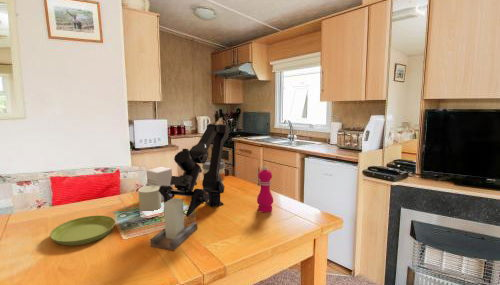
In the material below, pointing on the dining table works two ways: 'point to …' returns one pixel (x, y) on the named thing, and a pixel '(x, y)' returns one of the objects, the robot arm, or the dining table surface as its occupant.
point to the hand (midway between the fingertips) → (175, 215)
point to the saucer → (82, 230)
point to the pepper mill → (265, 191)
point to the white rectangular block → (173, 218)
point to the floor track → (172, 244)
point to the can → (149, 198)
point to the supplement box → (159, 177)
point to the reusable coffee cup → (221, 170)
